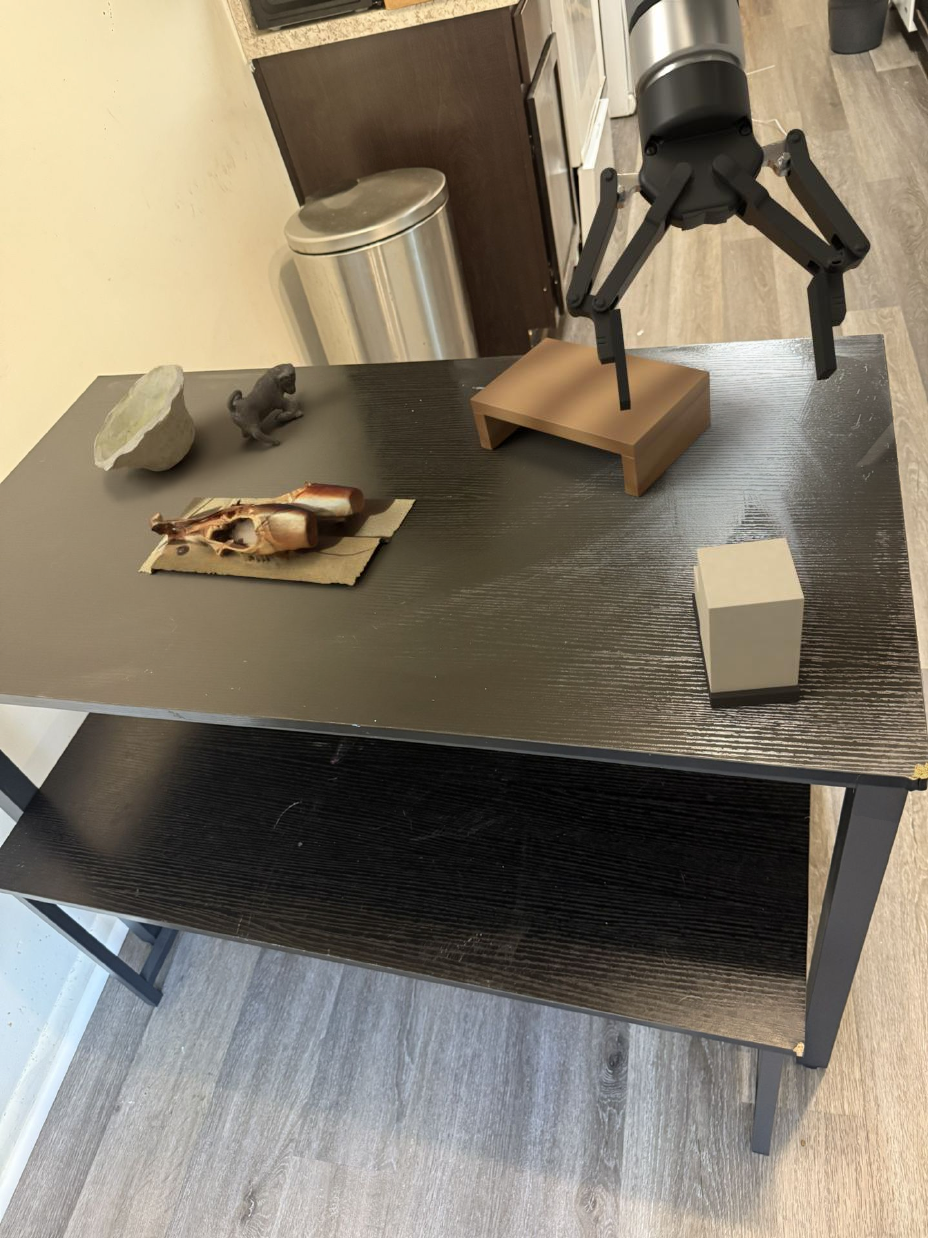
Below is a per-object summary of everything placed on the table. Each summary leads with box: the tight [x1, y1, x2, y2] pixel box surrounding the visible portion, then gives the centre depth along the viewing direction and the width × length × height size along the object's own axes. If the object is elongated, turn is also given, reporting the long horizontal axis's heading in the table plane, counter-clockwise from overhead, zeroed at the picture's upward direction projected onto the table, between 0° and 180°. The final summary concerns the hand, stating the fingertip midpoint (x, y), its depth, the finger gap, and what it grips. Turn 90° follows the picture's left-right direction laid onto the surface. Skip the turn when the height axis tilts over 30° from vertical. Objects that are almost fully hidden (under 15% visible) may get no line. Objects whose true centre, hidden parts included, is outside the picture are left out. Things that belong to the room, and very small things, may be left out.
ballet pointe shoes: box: [137, 480, 416, 586], centre depth 88 cm, size 14×7×28 cm
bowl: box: [93, 364, 196, 472], centre depth 103 cm, size 15×14×10 cm
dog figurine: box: [226, 362, 304, 446], centre depth 104 cm, size 12×6×7 cm, turn 152°
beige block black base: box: [691, 537, 805, 709], centre depth 63 cm, size 11×6×10 cm, turn 176°
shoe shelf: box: [469, 337, 712, 498], centre depth 88 cm, size 20×13×6 cm, turn 48°
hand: (723, 391), depth 60 cm, fingers open, 13 cm apart
